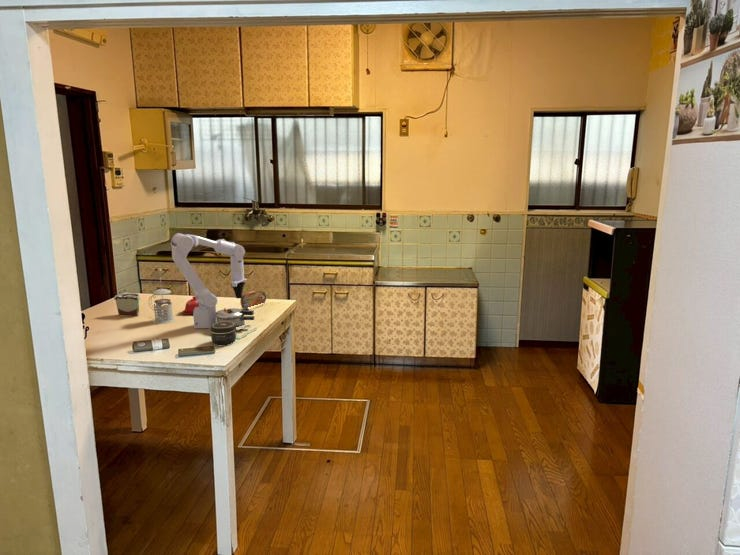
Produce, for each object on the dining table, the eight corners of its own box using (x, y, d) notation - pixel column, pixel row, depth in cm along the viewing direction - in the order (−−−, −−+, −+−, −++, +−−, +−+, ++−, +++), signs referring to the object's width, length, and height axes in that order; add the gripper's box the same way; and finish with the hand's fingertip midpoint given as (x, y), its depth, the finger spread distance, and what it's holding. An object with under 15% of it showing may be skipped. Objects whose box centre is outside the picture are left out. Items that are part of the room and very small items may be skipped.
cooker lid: (211, 318, 222) (210, 313, 222) (221, 310, 234) (221, 305, 234) (248, 319, 221) (248, 314, 221) (257, 311, 233) (257, 306, 233)
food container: (146, 312, 252) (144, 293, 250) (140, 316, 246) (138, 296, 244) (123, 312, 253) (121, 292, 251) (116, 315, 247) (113, 295, 245)
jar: (214, 338, 216) (213, 321, 214) (238, 337, 217) (237, 320, 215) (208, 346, 206) (207, 328, 204) (234, 346, 207) (232, 328, 205)
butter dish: (204, 315, 248) (203, 299, 246) (180, 315, 248) (179, 299, 246) (211, 309, 259) (210, 293, 257) (188, 309, 259) (187, 293, 257)
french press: (167, 324, 234) (162, 271, 228) (145, 322, 236) (139, 270, 231) (179, 318, 243) (175, 266, 238) (157, 316, 246) (152, 265, 240)
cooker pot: (213, 332, 223) (212, 319, 222) (221, 323, 235) (220, 311, 234) (251, 332, 224) (250, 319, 222) (257, 323, 235) (256, 311, 234)
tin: (243, 311, 255) (242, 295, 253) (239, 310, 257) (238, 294, 255) (266, 304, 266) (266, 289, 265) (262, 303, 268) (262, 288, 266)
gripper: (242, 273, 230) (243, 302, 233) (249, 266, 244) (250, 294, 247) (226, 273, 230) (228, 302, 233) (234, 266, 244) (236, 294, 247)
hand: (239, 298), depth 240 cm, fingers closed
